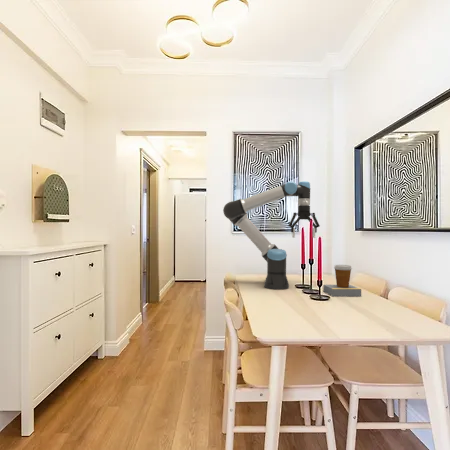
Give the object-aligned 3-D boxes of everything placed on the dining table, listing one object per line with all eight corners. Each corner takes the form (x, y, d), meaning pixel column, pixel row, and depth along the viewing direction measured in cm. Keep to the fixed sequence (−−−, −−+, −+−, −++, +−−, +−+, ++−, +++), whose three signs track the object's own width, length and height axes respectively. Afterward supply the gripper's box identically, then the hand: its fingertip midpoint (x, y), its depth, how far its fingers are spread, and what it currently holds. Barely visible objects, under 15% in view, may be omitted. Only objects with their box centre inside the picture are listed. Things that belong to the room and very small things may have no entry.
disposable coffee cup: (330, 285, 189) (330, 264, 189) (342, 284, 193) (343, 264, 193) (342, 288, 180) (342, 266, 180) (355, 287, 184) (355, 266, 184)
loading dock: (332, 296, 179) (332, 288, 179) (323, 291, 193) (323, 284, 193) (361, 296, 180) (361, 288, 180) (349, 291, 194) (350, 284, 194)
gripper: (286, 204, 211) (286, 237, 211) (324, 205, 213) (324, 238, 213) (284, 205, 219) (283, 237, 219) (320, 206, 220) (320, 237, 220)
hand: (303, 237), depth 216 cm, fingers open, 13 cm apart
